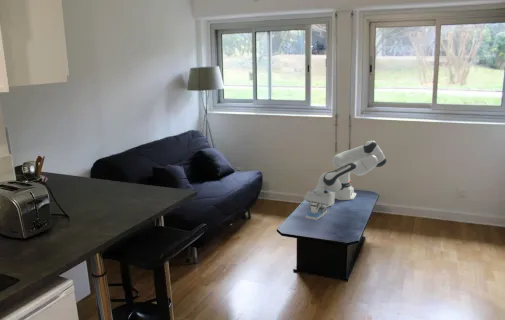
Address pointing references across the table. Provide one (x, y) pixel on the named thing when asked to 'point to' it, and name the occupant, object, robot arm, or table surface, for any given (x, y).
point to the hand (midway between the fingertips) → (314, 208)
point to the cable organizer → (331, 199)
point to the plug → (314, 208)
